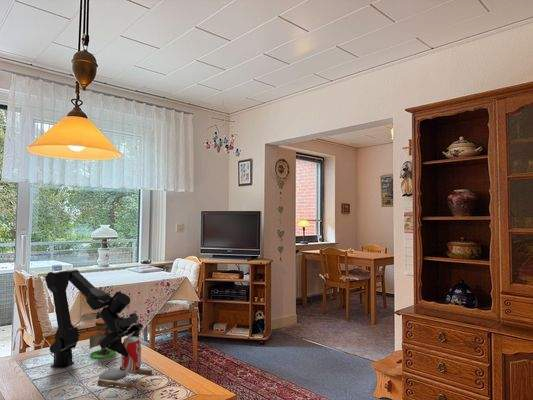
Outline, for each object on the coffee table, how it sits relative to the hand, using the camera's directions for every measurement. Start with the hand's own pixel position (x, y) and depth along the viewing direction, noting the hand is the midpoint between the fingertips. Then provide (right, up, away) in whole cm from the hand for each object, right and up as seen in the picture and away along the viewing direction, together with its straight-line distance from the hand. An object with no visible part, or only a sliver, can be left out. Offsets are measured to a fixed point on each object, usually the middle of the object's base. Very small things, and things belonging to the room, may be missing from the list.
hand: (134, 353), depth 146 cm
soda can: (-1, -7, +1) cm, 7 cm away
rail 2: (-2, -10, +7) cm, 12 cm away
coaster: (-9, -10, +3) cm, 14 cm away
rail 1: (-5, -10, -6) cm, 12 cm away
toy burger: (-23, -11, +26) cm, 36 cm away
